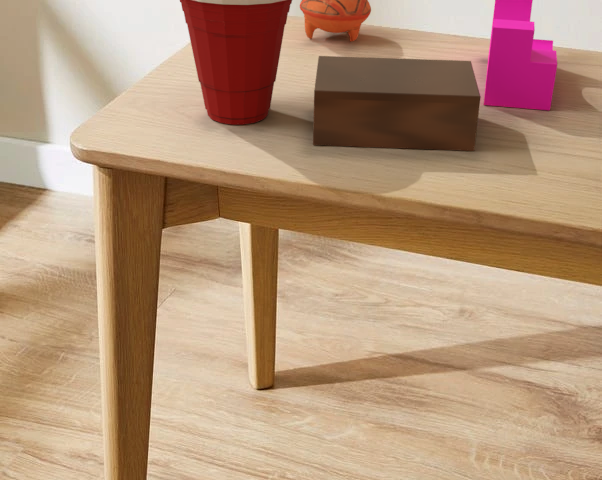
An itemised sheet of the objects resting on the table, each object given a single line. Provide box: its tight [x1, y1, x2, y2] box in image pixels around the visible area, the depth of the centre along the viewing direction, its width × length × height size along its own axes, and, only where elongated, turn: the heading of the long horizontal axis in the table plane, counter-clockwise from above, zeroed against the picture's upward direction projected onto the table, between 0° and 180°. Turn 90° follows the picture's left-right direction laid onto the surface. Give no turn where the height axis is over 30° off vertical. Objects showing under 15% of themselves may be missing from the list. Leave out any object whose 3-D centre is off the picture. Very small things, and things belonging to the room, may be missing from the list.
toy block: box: [483, 0, 558, 111], centre depth 97 cm, size 15×6×8 cm, turn 169°
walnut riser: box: [312, 55, 482, 152], centre depth 87 cm, size 14×9×5 cm, turn 87°
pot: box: [299, 0, 372, 42], centre depth 109 cm, size 8×8×7 cm
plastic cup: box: [179, 0, 293, 125], centre depth 88 cm, size 11×11×12 cm
